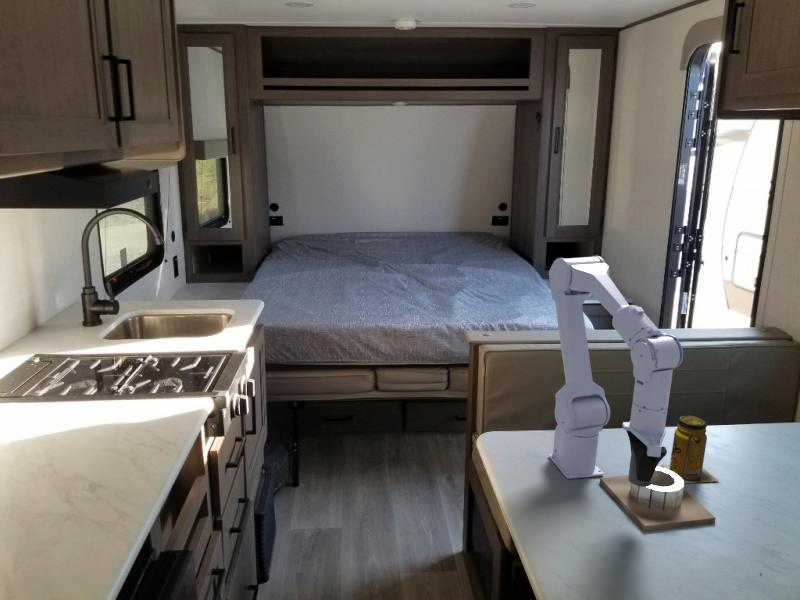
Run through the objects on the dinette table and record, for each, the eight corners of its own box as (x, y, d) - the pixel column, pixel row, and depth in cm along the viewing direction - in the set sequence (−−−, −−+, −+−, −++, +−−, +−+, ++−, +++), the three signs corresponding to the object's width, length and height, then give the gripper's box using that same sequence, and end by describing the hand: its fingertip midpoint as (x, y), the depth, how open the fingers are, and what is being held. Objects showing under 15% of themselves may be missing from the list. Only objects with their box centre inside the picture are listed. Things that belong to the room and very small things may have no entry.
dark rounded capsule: (623, 478, 114) (627, 448, 113) (637, 472, 116) (641, 442, 115) (642, 489, 111) (646, 458, 109) (656, 482, 113) (660, 452, 112)
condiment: (661, 465, 134) (668, 413, 131) (699, 464, 135) (707, 412, 131) (679, 484, 127) (686, 429, 124) (719, 482, 128) (728, 428, 124)
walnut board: (599, 482, 127) (600, 478, 127) (663, 476, 129) (663, 471, 129) (644, 530, 112) (644, 525, 111) (714, 522, 114) (715, 517, 114)
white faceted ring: (620, 486, 124) (623, 467, 123) (662, 482, 125) (665, 463, 124) (646, 513, 115) (649, 493, 114) (691, 508, 117) (694, 488, 116)
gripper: (619, 385, 117) (612, 451, 121) (632, 419, 104) (623, 493, 107) (659, 388, 116) (651, 455, 120) (678, 423, 102) (668, 497, 106)
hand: (641, 473), depth 113 cm, fingers closed on dark rounded capsule, 4 cm apart
